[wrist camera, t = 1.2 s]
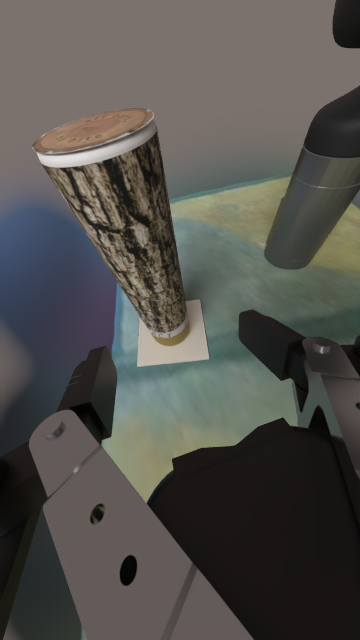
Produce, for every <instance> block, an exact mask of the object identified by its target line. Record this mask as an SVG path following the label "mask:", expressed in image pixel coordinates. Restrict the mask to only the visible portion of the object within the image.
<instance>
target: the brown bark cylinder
mask: <svg viewBox="0 0 360 640" xmlns="http://www.w3.org/2000/svg"><path fill="white" fill-rule="evenodd" d="M153 117H154V113H153V112H152V111H151V110H147V109H140V108H139V109H138V108H132V109H122V110H115V111H109V112H104V113H100V114H96V115H92V116H88V117H85V118H82V119H79V120H76V121H73V122H70V123H67V124H65V125H62V126H60V127H58V128H56V129H53V130H51V131H50V132H48V133H46V134H44V135H43V136H41V137H40V138H38V139H37V140H36V141H35V142H34V144H33V146H32V149H33V150H34V151H36V152H37V154H38V157H39V160H40V162H41V164H42V166H43V167H44V169H45V170H46V172H47V173H48V175H49V176H50V178H51V179H52V181H53V183H54V184H55V186H56V187H57V189H58V190H59V192H60V193H61V195H62V197H63V198H64V200H65V201H66V203H67V204H68V206H69V207H70V209H71V211H72V212H73V214H74V215H75V217H76V218H77V220H78V221H79V223H80V225H81V226H82V228H83V229H84V231H85V232H86V234H87V235H88V237H89V238H90V240H91V241H92V243H93V245H94V246H95V248H96V249H97V251H98V252H99V254H100V255H101V257H102V258H103V260H104V262H105V263H106V265H107V266H108V268H109V270H110V271H111V273H112V274H113V275H114V277H115V278H116V280H117V282H118V283H119V285H120V287H121V288H122V290H123V291H124V293H125V294H126V296H127V297H128V299H129V301H130V302H131V304H132V305H133V307H134V308H135V310H136V311H137V313H138V315H139V316H140V318H141V319H142V321H143V322H144V324H145V325H146V327H147V328H148V330H149V331H150V333H151V334H152V336H153V338H154V339H155V340H156V341H157V342H158V343H159V344H161V345H164V346H175V345H177V344H180V343H181V342H182V341H184V340H185V338H186V337H187V335H188V333H189V321H188V314H187V308H186V302H185V296H184V290H183V284H182V278H181V271H180V265H179V259H178V253H177V247H176V241H175V235H174V229H173V223H172V217H171V211H170V204H169V199H168V193H167V186H166V180H165V174H164V168H163V162H162V156H161V150H160V144H159V138H158V132H157V127H156V124H155V122H154V119H153Z"/></svg>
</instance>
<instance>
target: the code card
mask: <svg viewBox="0 0 360 640" xmlns="http://www.w3.org/2000/svg"><path fill="white" fill-rule="evenodd" d="M185 302H186V308H187V314H188V321H189V333H188V335H187V337H186V338H185V340H184V341H182V342H181V343H180V344H177V345H175V346H164V345H161V344H159V343H158V342H157V341H156V340H155V339H154V338H153V336H152V334H151V333H150V331H149V330H148V328H147V327H146V325H145V324H144V322H143V321H142V319H141V318H140V326H139V343H138V360H137V367H140V366H149V365H159V364H169V363H178V362H188V361H197V360H207V359H209V353H208V347H207V341H206V334H205V328H204V322H203V315H202V309H201V303H200V299H199V300H191V301H185Z"/></svg>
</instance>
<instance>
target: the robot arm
mask: <svg viewBox="0 0 360 640" xmlns="http://www.w3.org/2000/svg"><path fill="white" fill-rule="evenodd" d="M333 36H334V39H335V42H336V43H337V44H338V45H339V46H341V47H344V48H360V0H336V3H335V9H334V16H333ZM359 190H360V86H359V87H357V88H355V89H354V90H352V91H351V92H349V93H347V94H345V95H344V96H342V97H340V98H338V99H336V100H334V101H333V102H330V103H329V104H327V105H326V106H324V107H323V108H322V109H320V110H319V111H318V113H317V114H316V115H315V117H314V119H313V120H312V122H311V125H310V127H309V130H308V133H307V135H306V138H305V141H304V144H303V147H302V150H301V153H300V155H299V158H298V161H297V164H296V167H295V169H294V172H293V175H292V178H291V180H290V183H289V186H288V188H287V191H286V194H285V196H284V197H283V198H282V200H281V203H280V205H279V208H278V211H277V214H276V217H275V219H274V222H273V225H272V228H271V231H270V234H269V236H268V239H267V242H266V244H267V246H266V248H265V256H266V258H267V260H268V261H269V262H270V263H272V264H273V265H275V266H278V267H280V268H285V269H298V268H302V267H304V266H306V265H308V264H309V263H310V261H311V260H312V259H313V257H314V256H315V254H316V253H317V251H318V250H319V248H320V247H321V246H322V244H323V243H324V241H325V240H326V238H327V237H328V235H329V234H330V232H331V231H332V230H333V228H334V227H335V225H336V224H337V222H338V221H339V219H340V218H341V216H342V215H343V213H344V212H345V210H346V209H347V208H348V206H349V205H350V203H351V202H352V200H353V199H354V197H355V196H356V194H357V193H358V191H359ZM239 339H240V341H241V342H242V344H243V345H245V346H246V347H247V348H248V349H249V350H250V351H251V352H252V353H253V354H254V355H255V356H256V357H257V358H258V359H259V360H260V361H261V362H262V363H263V364H264V365H265V366H266V367H267V368H268V369H269V370H270V371H271V372H272V373H273V374H274V375H276V376H277V377H278V378H279V379H280V380H281V381H282V380H285V379H288V378H291V379H292V380H293V382H292V388H293V394H294V400H295V406H296V412H297V418H298V426H297V427H296V426H290V425H289V424H288V423H287V422H286V420H285V419H284V418H280V419H277V420H275V421H272V422H269V423H267V424H264V425H261V426H259V427H257V428H256V429H255V430H254V431H252V432H251V433H250V434H249V435H248V436H246V437H245V438H244V439H243V440H242V441H240V442H239V443H238V444H236V445H234V446H226V447H209V448H200V449H197V450H195V451H192V452H189V453H187V454H184V455H181V456H179V457H176V458H173V459H172V463H173V468H174V470H172V471H171V472H170V473H169V474H167V475H166V476H165V478H164V479H163V480H162V481H161V482H160V483H159V484H158V486H157V487H156V488H155V490H154V491H153V493H152V494H151V496H150V498H149V500H148V501H147V503H146V502H145V501H144V500H143V498H142V497H141V496H140V495H139V493H138V492H137V491H136V490H135V488H134V487H133V486H132V484H131V483H130V482H129V481H128V479H127V478H126V477H125V475H124V474H123V473H122V472H121V470H120V469H119V468H118V466H117V465H116V464H115V463H114V461H113V460H112V459H111V457H110V456H109V455H108V454H107V452H106V451H105V450H104V448H103V447H102V446H101V443H102V440H103V439H106V438H109V437H111V434H112V424H113V414H114V405H115V395H116V385H117V371H116V367H115V365H114V362H113V360H112V358H111V355H110V353H109V351H108V349H107V347H106V346H104V347H99V348H95V349H92V350H90V352H89V355H88V357H87V360H86V361H82V362H81V363H80V364H79V365H78V366H77V367H76V369H75V370H74V372H73V375H72V377H71V379H70V382H69V384H68V385H69V386H67V388H66V391H65V393H64V395H63V398H62V400H61V402H60V405H59V407H58V409H57V412H56V413H55V414H53V415H51V416H50V417H48V418H47V419H46V420H44V421H43V422H42V423H41V424H40V425H39V426H38V427H37V429H36V430H35V431H34V433H33V434H32V436H31V438H30V440H29V441H28V442H26V443H24V444H23V445H21V446H19V447H18V448H15V449H14V450H12V451H10V452H8V453H7V454H5V455H3V456H0V640H3V637H4V634H5V630H6V627H7V623H8V620H9V617H10V613H11V610H12V606H13V603H14V600H15V596H16V593H17V589H18V586H19V583H20V579H21V576H22V572H23V569H24V565H25V562H26V559H27V555H28V552H29V548H30V545H31V541H32V538H33V535H34V531H35V528H36V524H37V521H38V517H39V514H40V510H41V508H42V507H43V510H44V514H45V517H46V520H47V523H48V526H49V529H50V532H51V535H52V538H53V541H54V544H55V547H56V550H57V553H58V556H59V559H60V561H61V565H62V568H63V570H64V573H65V576H66V579H67V582H68V585H69V588H70V591H71V594H72V597H73V600H74V603H75V606H76V609H77V612H78V615H79V618H80V621H81V624H82V627H83V629H84V632H85V635H86V638H87V640H360V335H359V336H358V337H357V338H356V341H355V343H354V345H339V344H337V343H336V342H334V341H331V340H329V339H325V338H321V337H308V338H306V337H304V336H302V335H301V334H299V333H297V332H295V331H294V330H292V329H290V328H289V327H287V326H285V325H283V324H282V323H279V322H278V321H276V320H275V319H273V318H271V317H268V316H264V315H262V314H260V313H258V312H257V311H255V310H248V311H244V312H241V313H240V314H239Z"/></svg>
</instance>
